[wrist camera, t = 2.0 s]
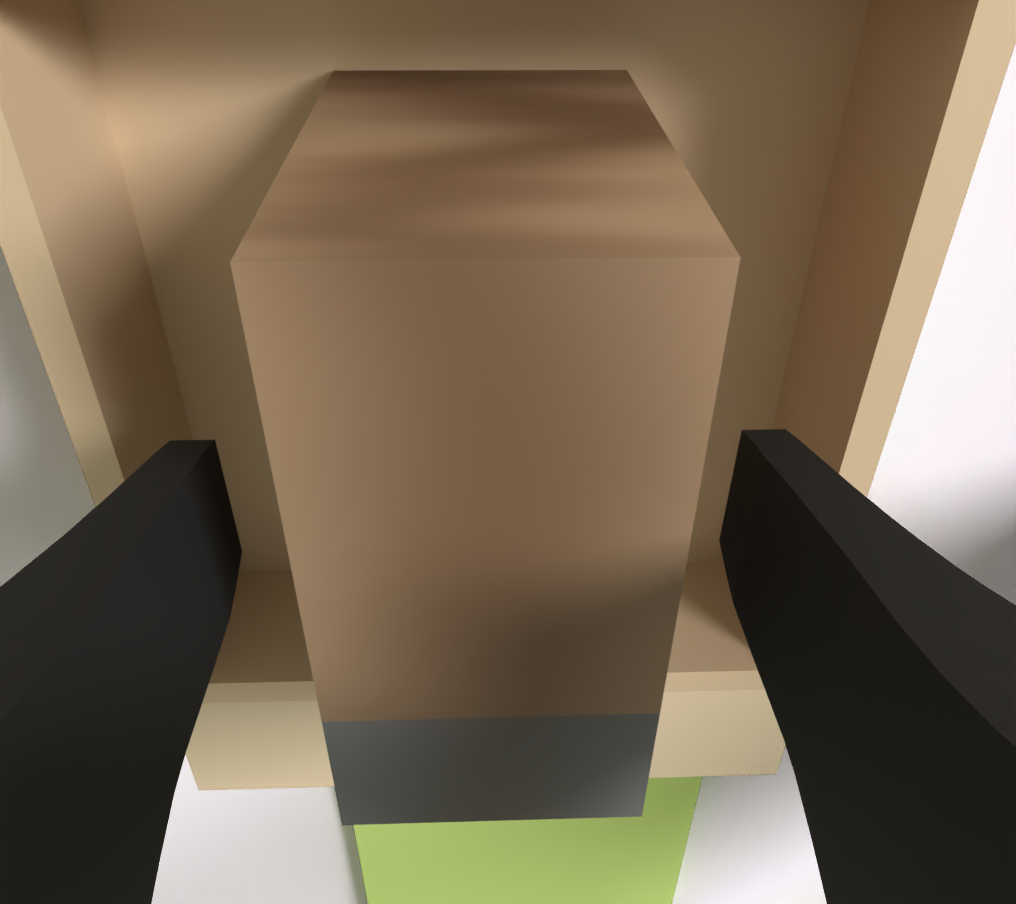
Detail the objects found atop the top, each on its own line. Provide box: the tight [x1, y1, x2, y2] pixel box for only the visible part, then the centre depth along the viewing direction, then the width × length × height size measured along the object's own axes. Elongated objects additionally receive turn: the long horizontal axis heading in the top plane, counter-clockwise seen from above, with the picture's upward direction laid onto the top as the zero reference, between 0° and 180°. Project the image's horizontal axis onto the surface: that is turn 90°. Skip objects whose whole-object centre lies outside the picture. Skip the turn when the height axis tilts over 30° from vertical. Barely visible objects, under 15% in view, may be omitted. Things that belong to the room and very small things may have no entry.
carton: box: [0, 0, 1016, 790], centre depth 15 cm, size 13×19×4 cm
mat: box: [353, 776, 702, 904], centre depth 26 cm, size 10×12×1 cm
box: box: [230, 70, 741, 825], centre depth 13 cm, size 4×9×7 cm, turn 0°
